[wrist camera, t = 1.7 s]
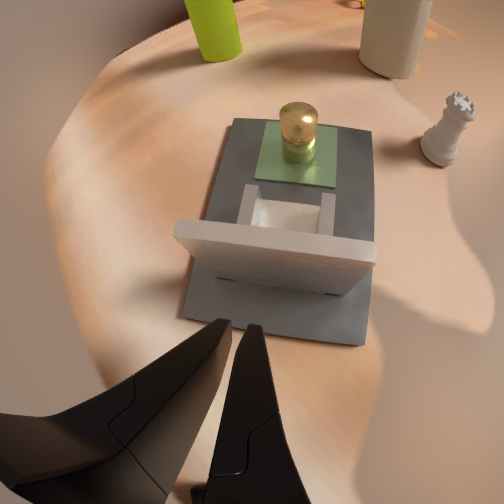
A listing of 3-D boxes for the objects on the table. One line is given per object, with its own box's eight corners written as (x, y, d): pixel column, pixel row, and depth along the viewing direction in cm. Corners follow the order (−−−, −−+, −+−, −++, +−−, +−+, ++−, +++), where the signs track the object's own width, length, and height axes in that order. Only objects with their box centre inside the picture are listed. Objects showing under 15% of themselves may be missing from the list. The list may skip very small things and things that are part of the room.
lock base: (361, 345, 20) (385, 344, 15) (185, 317, 23) (153, 306, 17) (369, 137, 26) (381, 95, 21) (235, 124, 29) (224, 82, 23)
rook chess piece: (418, 160, 25) (446, 107, 17) (418, 131, 26) (440, 78, 18) (454, 174, 24) (488, 126, 16) (452, 144, 25) (479, 96, 17)
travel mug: (403, 89, 28) (431, -32, 11) (349, 63, 31) (357, -55, 14) (419, 67, 30) (443, -34, 13) (371, 44, 32) (381, -55, 15)
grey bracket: (345, 295, 20) (376, 262, 13) (213, 276, 22) (172, 235, 14) (351, 215, 22) (376, 151, 14) (230, 201, 24) (204, 135, 16)
